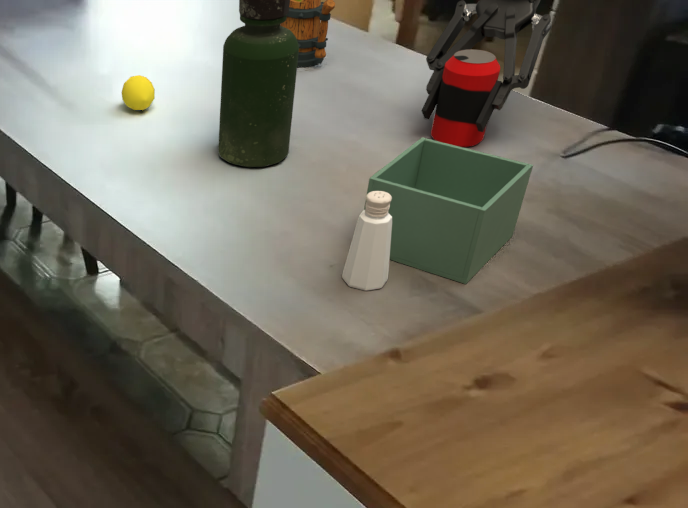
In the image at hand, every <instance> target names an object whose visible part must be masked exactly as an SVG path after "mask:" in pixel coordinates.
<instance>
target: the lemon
mask: <svg viewBox="0 0 688 508" xmlns="http://www.w3.org/2000/svg"><path fill="white" fill-rule="evenodd" d="M155 91H156V90H155V87H154V85H153V82H152V81H151V80H150V79H149V78H148V77H147V76H144V75H140V74H138V75H132V76H130V77H128V79H126V81H124V82H123V86H122V89H121V99H122V101H123V103H124V105H125V106H126V107H127V108H130V109H131V110H133V111H135V110H142V111H144V110H146V109H148V108H150V106H152V104H153V102H154V100H156V99H155V98H156V96H155V95H156V94H155V93H156V92H155Z"/></svg>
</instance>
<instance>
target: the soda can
mask: <svg viewBox="0 0 688 508" xmlns="http://www.w3.org/2000/svg"><path fill="white" fill-rule="evenodd" d="M500 72H501V65H500V63H499V62H498V59H497V57H496V55H495V54H494V53H492V52H489V51H487V50H482V49H472V48H471V49H470V50H461V51H458V52H456V53H455V54H454V55H453V56H452V57H451V58H450V59H449V60H448V61H447V62H446V63H445V67H444V71H443V76H442V81H441V86H440V91H439V96H438V101H437V105H436V107H435V109H434V115H433V120H432V126H431V130H430V135H431V138H432V140H435V141H439V142H443V143H447V144H451V145H455V146H459V147H463V148H469V147H474V146H477V145H478V144H480V143H481V142H482V141H483V140H484V138H485V133H486V130H487V126H488V124H487V125H486V127H485V129H484V131H483V132H480V131H478V129H477V126H476V121H477V119H478V117H479V115H480V113H481V111H482V109H483V107H484V105H485V103H486V101H487V99H488V97H489V94H490V92H491V90H492V88H493V86H494V85H495V83H496V81H499V78H500V77H499V76H500Z"/></svg>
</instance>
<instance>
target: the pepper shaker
mask: <svg viewBox="0 0 688 508" xmlns="http://www.w3.org/2000/svg"><path fill="white" fill-rule="evenodd" d="M391 200H392V197H391V195H390V194H389V193H387V192H384V191H372V192H370V193H368V194H367V193H366V196H365V202H366V201H367V202H366V205H365V204H364V208H366V209H365V210H364V209H363V210H362V212H361V213H360V214H359V215H358V218H357V221H356V224H355V228H354V232H353V235H352V238H351V242H350V246H349V250H348V252H347V256H346V260H345V262H344V263H345V264H344V267H343V271H342V274H341V279H343V281H344V282H345V283H346V284H347V286H348V287H349V288H351V289H352V288H353V289H356V290H360V291H365V292H368V291H373V290H379V289H382V288H383V287H384V286H385V284H386V283H387V282H388V280H389V271H390V270H389V269H390V245H391V231H392V216H391V215H390V214H389V213H388V210H389V208H390V202H391Z"/></svg>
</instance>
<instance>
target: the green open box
mask: <svg viewBox="0 0 688 508" xmlns="http://www.w3.org/2000/svg"><path fill="white" fill-rule="evenodd" d="M533 167H534V164H532V163H527V162H523V161H520V160H515V159H511V158H508V157H504V156H503V157H502V156H499V155H495V154H491V153H487V152H483V151H479V150H476V149H475V150H474V149H472V148H471V149H470V148H468V147H459V146H455V145H451V144H447V143H443V142H439V141H435V140H434V139H431V138H426V137H423V136H422V137H420V138H419V139H418V140H416V142H414V143H413V144H412V145H411V146H409V147H408V148H406V149H405V150H404V151H402V152H401V153H399V155H397V156H396V157H395V158H394V159H392V160H391V161H389V162H388V163H387V164H386V165H384V166H383V167H381V169H379V170H377V172H376V173H374V174H373V175H372V176H370V177H369V178H368V183H367V184H368V185H367V191H366V195H367V194H368V193H370V192H372V191H384V192H387V193H389V194H390V195H391V197H392V200H391V202H390V208H389V210H388V213H389V214H390V215H391V216H392V231H391V245H390V259H389V261H393V262H396V263H399V264H402V265H406V266H408V267H412V268H414V269H417V270H420V271H424V272H426V273H430V274H433V275H436V276H438V277H439V276H440V277H442V278H445V279H448V280H451V281H455V282H457V283H460V284H464V285H467V284H468V283H469V282H470V281H471V279H473V278H474V277H475V275H477V273H478V272H480V270H481V269H482V268H483V267H484V266H485V265H486V264H487V263H488V262H489V261H490V260H491V259H492V258H493V257H494V256H495V255H496V254H497V253H498V252H499V251H500V249H502V248H503V247H504V246H505V245H506V244H507V242H509V240H510V239H511V238H512V237H514V232H515V229H516V226H517V221H518V219H519V215H520V212H521V209H522V205H523V203H524V202H523V201H524V198H525V194H526V191H527V187H528V184H529V181H530V177H531V174H532V171H533ZM366 202H367V201H366V200H365V202H364V206H365V205H366ZM365 209H366V208H365V207H364V208H363V210H365Z"/></svg>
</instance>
